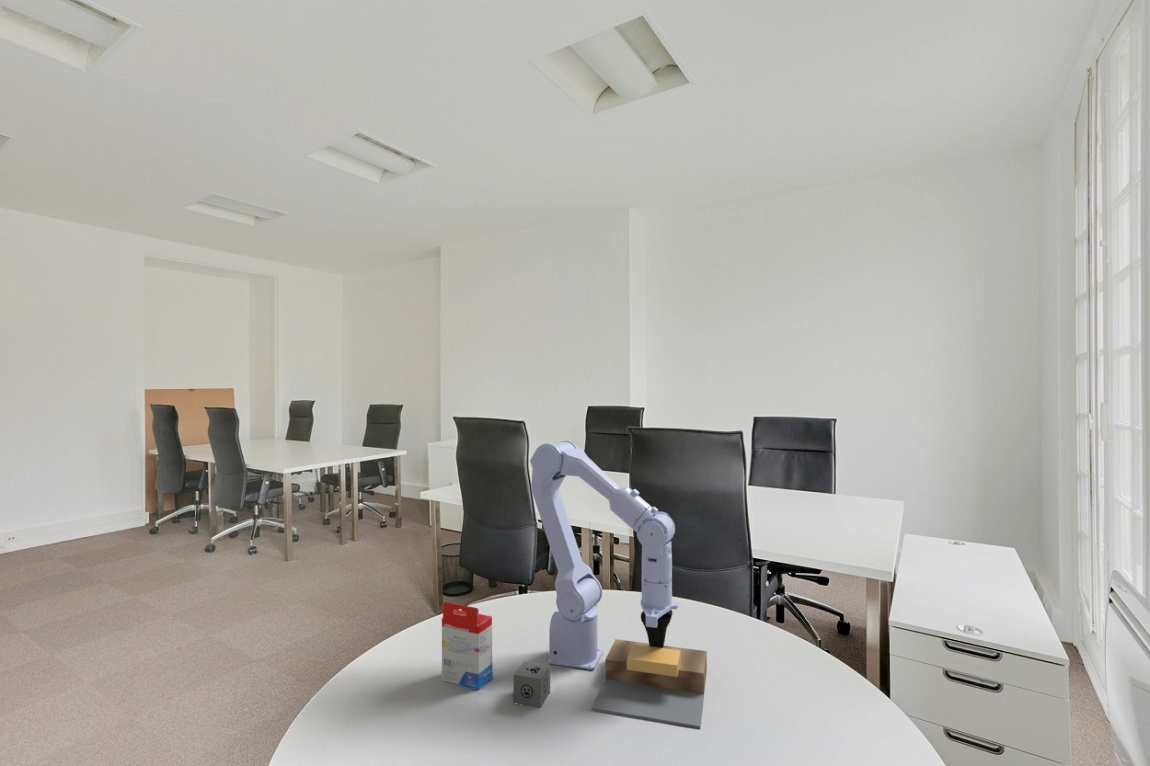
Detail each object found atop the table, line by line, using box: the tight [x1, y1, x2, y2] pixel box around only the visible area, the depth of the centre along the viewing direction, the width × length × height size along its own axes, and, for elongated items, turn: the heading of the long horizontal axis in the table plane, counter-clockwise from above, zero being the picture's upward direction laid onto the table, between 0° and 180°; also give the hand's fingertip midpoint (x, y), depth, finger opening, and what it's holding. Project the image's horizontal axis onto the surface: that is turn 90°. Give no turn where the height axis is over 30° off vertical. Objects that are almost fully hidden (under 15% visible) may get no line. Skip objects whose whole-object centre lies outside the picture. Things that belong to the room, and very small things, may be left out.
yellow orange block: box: [627, 644, 681, 677], centre depth 101 cm, size 9×6×2 cm, turn 74°
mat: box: [591, 678, 705, 729], centre depth 96 cm, size 18×11×1 cm, turn 74°
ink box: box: [441, 601, 493, 691], centre depth 103 cm, size 8×5×15 cm, turn 65°
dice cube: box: [512, 661, 551, 709], centre depth 97 cm, size 5×5×5 cm
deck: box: [604, 638, 708, 695], centre depth 105 cm, size 18×9×4 cm, turn 74°
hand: (656, 650), depth 105 cm, fingers closed
